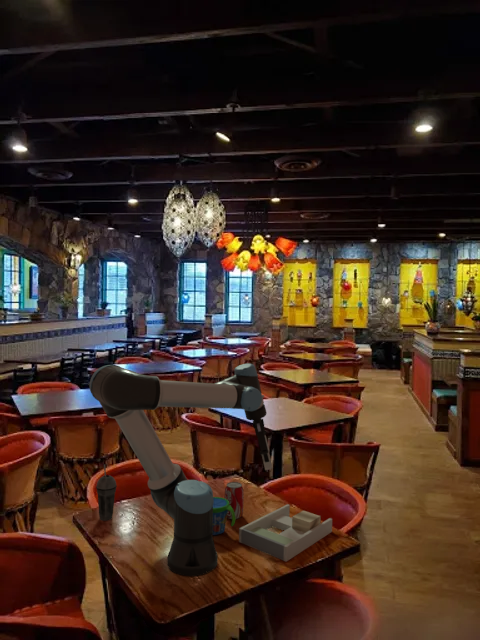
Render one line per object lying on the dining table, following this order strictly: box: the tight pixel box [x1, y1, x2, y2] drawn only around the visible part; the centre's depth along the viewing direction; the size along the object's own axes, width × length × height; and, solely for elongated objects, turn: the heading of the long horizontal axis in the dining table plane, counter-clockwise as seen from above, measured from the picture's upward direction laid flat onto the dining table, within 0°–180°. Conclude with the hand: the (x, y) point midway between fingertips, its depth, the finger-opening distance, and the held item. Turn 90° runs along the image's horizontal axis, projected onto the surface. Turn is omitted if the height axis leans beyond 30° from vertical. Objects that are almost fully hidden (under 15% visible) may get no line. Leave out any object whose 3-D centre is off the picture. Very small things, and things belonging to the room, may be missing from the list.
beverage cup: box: [95, 464, 118, 522], centre depth 179 cm, size 7×7×20 cm
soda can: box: [224, 481, 245, 520], centre depth 183 cm, size 7×7×12 cm
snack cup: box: [212, 496, 236, 536], centre depth 171 cm, size 16×10×10 cm
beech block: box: [291, 510, 322, 533], centre depth 169 cm, size 7×7×4 cm
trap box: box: [238, 503, 333, 562], centre depth 168 cm, size 28×19×4 cm
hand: (267, 460), depth 180 cm, fingers open, 13 cm apart
